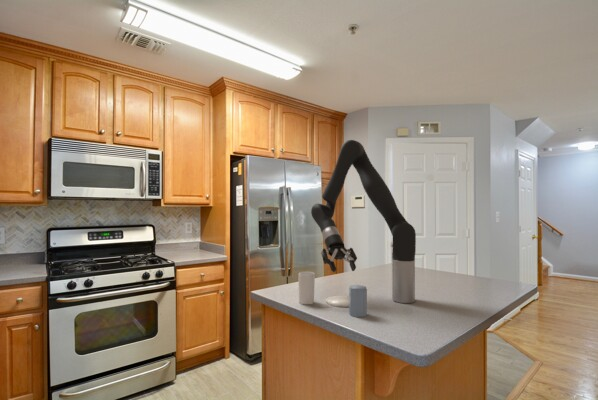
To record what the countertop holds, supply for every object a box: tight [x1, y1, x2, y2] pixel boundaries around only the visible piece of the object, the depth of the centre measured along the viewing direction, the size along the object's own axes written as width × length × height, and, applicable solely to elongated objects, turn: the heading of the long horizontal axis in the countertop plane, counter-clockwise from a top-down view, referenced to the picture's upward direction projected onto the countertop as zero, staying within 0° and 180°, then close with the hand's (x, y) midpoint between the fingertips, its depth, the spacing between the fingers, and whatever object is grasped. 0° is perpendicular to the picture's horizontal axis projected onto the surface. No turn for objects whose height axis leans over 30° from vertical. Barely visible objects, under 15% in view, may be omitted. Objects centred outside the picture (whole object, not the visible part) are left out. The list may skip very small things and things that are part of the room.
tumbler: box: [348, 284, 368, 318], centre depth 120 cm, size 6×6×10 cm
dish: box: [325, 295, 349, 308], centre depth 135 cm, size 13×13×1 cm
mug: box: [298, 271, 316, 306], centre depth 136 cm, size 10×7×12 cm, turn 10°
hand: (344, 270), depth 130 cm, fingers open, 8 cm apart
